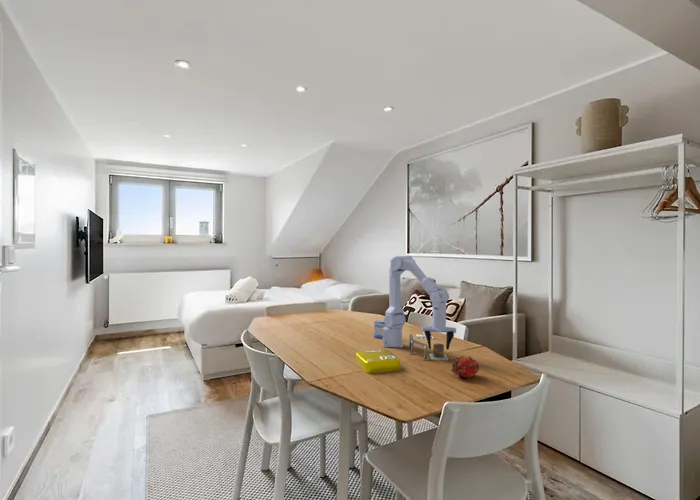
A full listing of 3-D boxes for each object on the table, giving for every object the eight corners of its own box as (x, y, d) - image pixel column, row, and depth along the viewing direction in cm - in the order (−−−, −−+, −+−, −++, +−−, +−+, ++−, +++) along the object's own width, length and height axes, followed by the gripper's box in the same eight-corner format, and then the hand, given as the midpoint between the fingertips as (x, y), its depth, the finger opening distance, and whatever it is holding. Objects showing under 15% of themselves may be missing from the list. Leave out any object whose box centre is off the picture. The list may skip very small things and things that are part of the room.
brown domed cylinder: (433, 357, 160) (433, 346, 160) (431, 354, 165) (432, 343, 165) (445, 358, 160) (445, 346, 160) (443, 354, 165) (443, 343, 165)
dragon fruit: (449, 382, 137) (475, 383, 141) (462, 375, 131) (489, 376, 135) (443, 359, 142) (469, 361, 146) (456, 351, 136) (482, 353, 140)
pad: (431, 359, 159) (431, 358, 159) (429, 354, 167) (429, 353, 167) (448, 360, 158) (448, 359, 158) (445, 354, 166) (445, 353, 166)
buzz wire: (411, 359, 158) (411, 344, 158) (407, 346, 179) (408, 333, 179) (428, 360, 158) (429, 345, 158) (423, 347, 178) (423, 333, 178)
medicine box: (373, 337, 195) (374, 321, 195) (375, 335, 200) (375, 319, 200) (388, 339, 193) (388, 322, 193) (390, 337, 197) (390, 320, 197)
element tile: (387, 359, 160) (387, 348, 160) (402, 370, 145) (402, 358, 145) (354, 362, 155) (354, 350, 155) (366, 374, 141) (366, 361, 141)
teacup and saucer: (415, 338, 196) (415, 331, 196) (419, 335, 203) (419, 328, 203) (431, 340, 192) (431, 333, 192) (435, 337, 199) (435, 330, 199)
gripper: (423, 318, 159) (422, 350, 159) (458, 320, 158) (457, 351, 158) (421, 315, 166) (420, 346, 166) (454, 316, 165) (454, 347, 165)
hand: (438, 348), depth 162 cm, fingers open, 7 cm apart
